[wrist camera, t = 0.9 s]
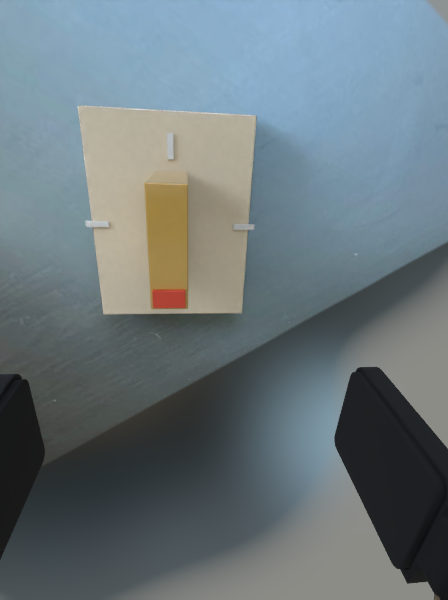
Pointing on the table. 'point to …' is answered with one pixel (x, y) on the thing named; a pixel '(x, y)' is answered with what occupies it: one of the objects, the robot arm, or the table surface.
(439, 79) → the table surface
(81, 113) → the dial base plate
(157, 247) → the tan block
